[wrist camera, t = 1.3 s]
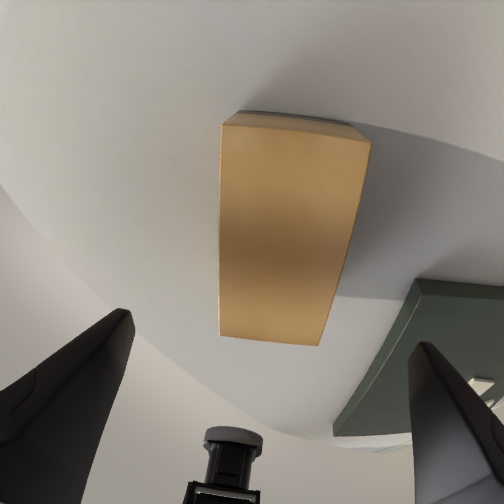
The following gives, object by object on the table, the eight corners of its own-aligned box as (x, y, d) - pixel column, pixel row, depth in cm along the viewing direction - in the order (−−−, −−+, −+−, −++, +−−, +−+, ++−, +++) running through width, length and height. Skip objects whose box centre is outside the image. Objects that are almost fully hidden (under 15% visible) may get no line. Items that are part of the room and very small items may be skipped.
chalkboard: (474, 411, 26) (476, 421, 25) (332, 424, 27) (333, 436, 26) (569, 292, 15) (576, 302, 14) (415, 277, 16) (422, 294, 15)
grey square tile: (466, 402, 22) (467, 405, 22) (444, 401, 22) (445, 404, 21) (493, 380, 20) (494, 383, 20) (473, 377, 20) (474, 380, 19)
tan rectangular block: (314, 294, 18) (318, 346, 14) (230, 285, 18) (218, 335, 15) (349, 123, 12) (372, 142, 9) (238, 110, 13) (220, 123, 9)
